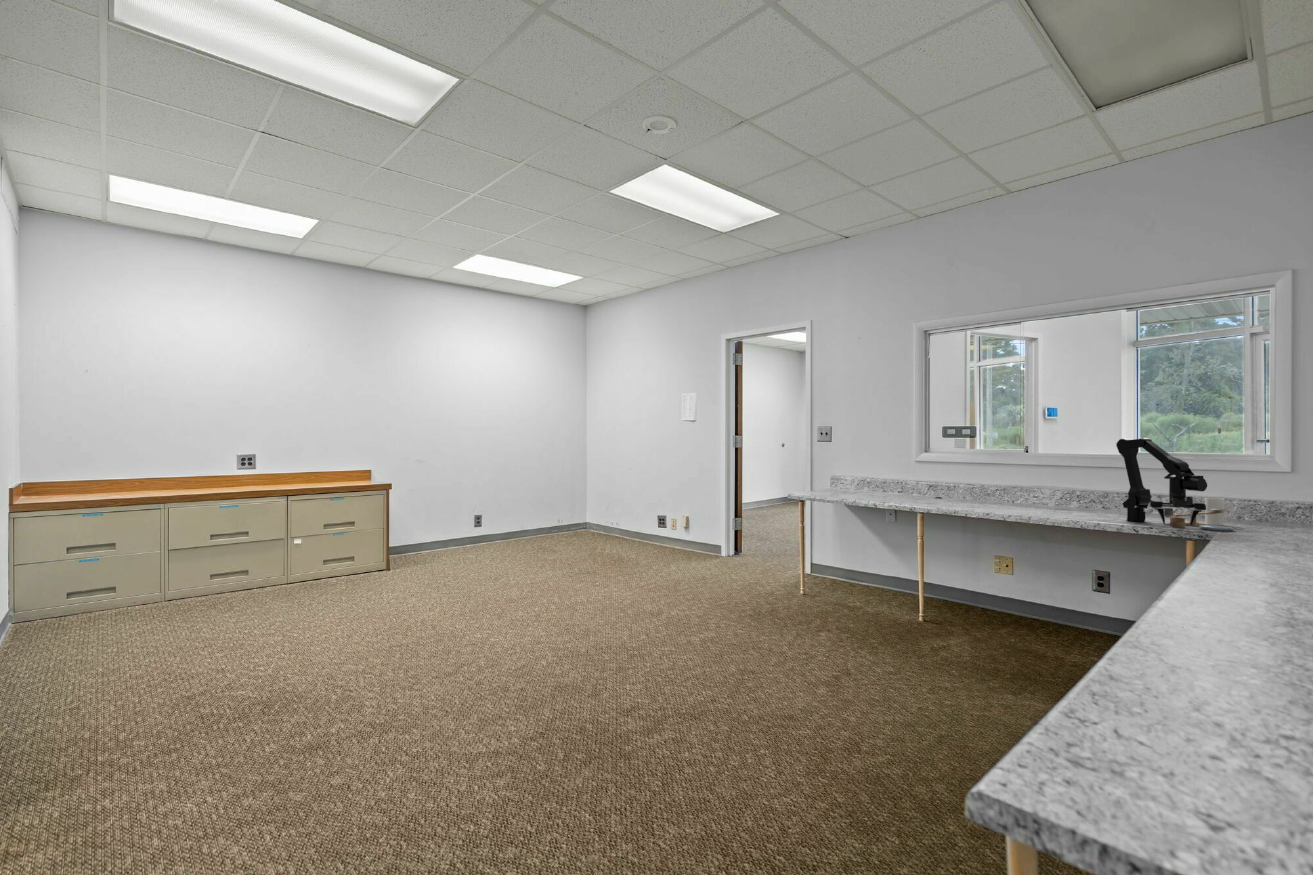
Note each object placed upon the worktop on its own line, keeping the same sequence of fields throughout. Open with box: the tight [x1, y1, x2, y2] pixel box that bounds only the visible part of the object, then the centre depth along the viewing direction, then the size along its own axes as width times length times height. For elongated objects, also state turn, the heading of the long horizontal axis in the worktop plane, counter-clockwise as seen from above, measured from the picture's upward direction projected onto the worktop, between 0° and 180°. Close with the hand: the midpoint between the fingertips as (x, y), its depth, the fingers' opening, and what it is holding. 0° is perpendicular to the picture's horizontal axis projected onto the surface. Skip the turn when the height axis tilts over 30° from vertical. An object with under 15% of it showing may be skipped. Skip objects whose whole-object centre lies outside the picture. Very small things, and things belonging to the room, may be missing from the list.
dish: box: [1199, 524, 1235, 532], centre depth 273 cm, size 11×11×1 cm
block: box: [1169, 516, 1186, 529], centre depth 281 cm, size 4×4×4 cm
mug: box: [1204, 497, 1235, 526], centre depth 287 cm, size 10×7×12 cm, turn 54°
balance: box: [1163, 506, 1230, 527], centre depth 286 cm, size 24×6×8 cm, turn 57°
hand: (1177, 524), depth 281 cm, fingers open, 9 cm apart
